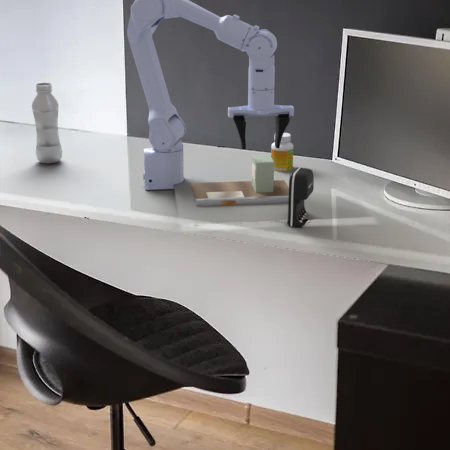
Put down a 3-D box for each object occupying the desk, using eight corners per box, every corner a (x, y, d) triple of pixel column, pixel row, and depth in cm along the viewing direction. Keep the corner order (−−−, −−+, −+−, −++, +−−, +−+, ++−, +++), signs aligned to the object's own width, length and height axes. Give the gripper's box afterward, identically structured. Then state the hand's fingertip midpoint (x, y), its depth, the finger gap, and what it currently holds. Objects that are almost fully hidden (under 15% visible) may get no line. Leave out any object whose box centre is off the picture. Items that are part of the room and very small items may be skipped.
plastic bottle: (68, 161, 210) (63, 83, 203) (49, 168, 205) (43, 88, 198) (49, 157, 214) (43, 80, 206) (30, 163, 208) (24, 84, 201)
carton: (254, 192, 186) (255, 162, 183) (251, 183, 191) (251, 154, 189) (273, 191, 186) (274, 162, 183) (269, 183, 192) (270, 154, 189)
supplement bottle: (290, 177, 200) (292, 138, 196) (268, 175, 201) (269, 136, 197) (293, 170, 205) (295, 132, 201) (272, 168, 206) (273, 130, 202)
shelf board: (196, 211, 178) (196, 200, 177) (190, 187, 192) (190, 178, 191) (296, 207, 180) (297, 197, 179) (284, 184, 194) (284, 175, 193)
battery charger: (304, 229, 168) (307, 176, 164) (286, 227, 170) (288, 174, 165) (313, 218, 175) (315, 166, 170) (295, 215, 176) (298, 164, 171)
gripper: (230, 92, 176) (230, 153, 181) (297, 90, 178) (295, 151, 183) (226, 85, 183) (226, 144, 188) (291, 83, 184) (289, 142, 189)
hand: (260, 147), depth 186 cm, fingers open, 7 cm apart
